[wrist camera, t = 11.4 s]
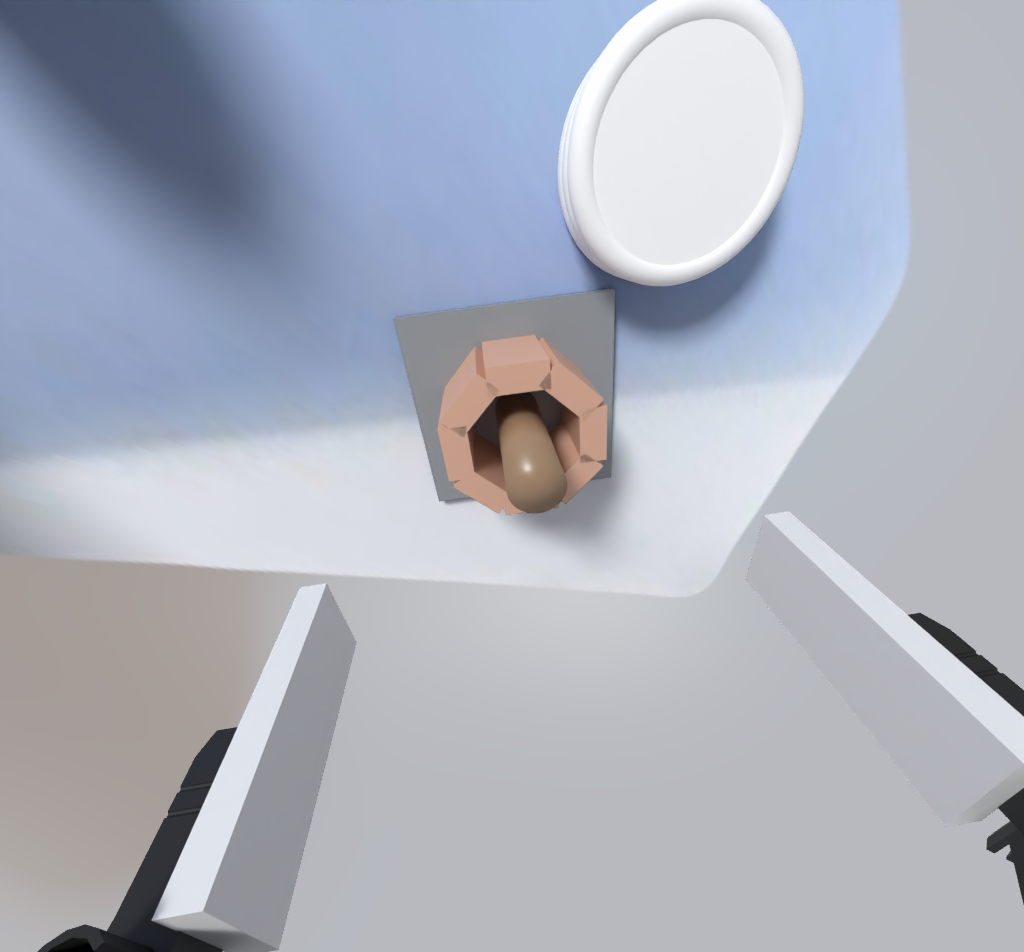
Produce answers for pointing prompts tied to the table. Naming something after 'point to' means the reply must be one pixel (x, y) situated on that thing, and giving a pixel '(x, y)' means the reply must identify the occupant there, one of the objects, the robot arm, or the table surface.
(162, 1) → the table surface
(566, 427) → the ring
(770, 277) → the table surface
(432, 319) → the post block
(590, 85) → the coaster
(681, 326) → the table surface
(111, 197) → the table surface
